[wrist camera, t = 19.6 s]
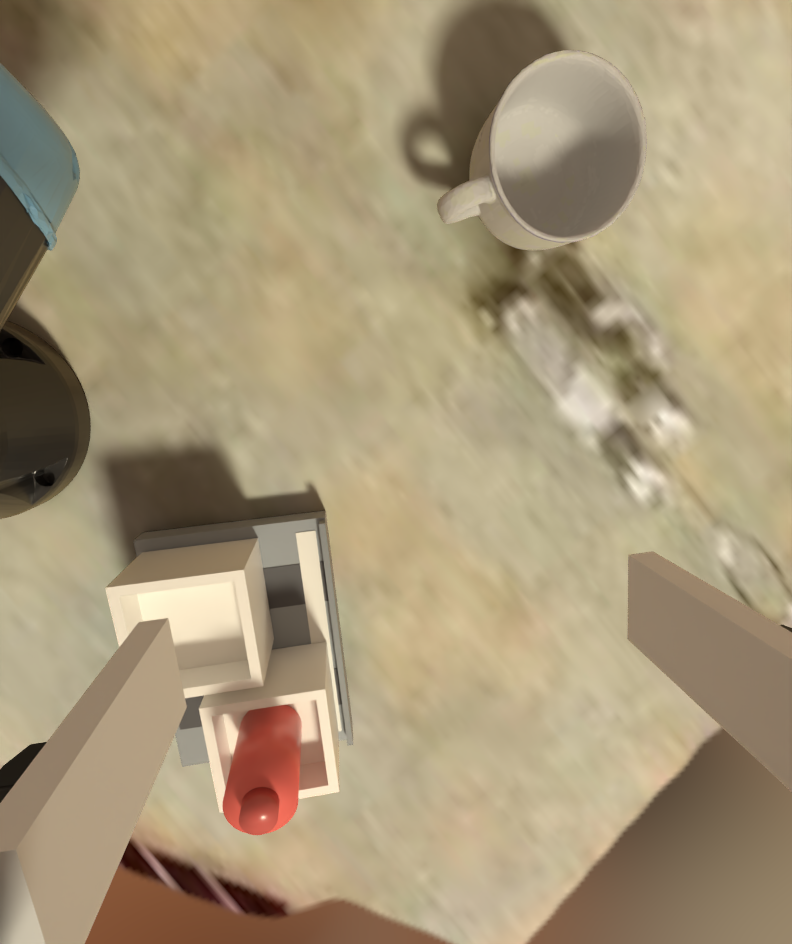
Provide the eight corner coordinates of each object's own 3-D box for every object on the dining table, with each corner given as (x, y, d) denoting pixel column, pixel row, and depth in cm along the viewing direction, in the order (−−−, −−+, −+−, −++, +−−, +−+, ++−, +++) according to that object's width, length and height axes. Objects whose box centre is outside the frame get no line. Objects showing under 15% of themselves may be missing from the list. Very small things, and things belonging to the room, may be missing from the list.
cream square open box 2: (236, 748, 44) (219, 812, 38) (219, 657, 42) (198, 708, 36) (338, 731, 45) (339, 791, 39) (326, 641, 43) (325, 689, 37)
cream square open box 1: (163, 654, 41) (133, 706, 35) (142, 552, 39) (105, 587, 33) (273, 638, 42) (263, 686, 36) (258, 537, 40) (243, 569, 34)
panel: (198, 795, 47) (189, 823, 44) (142, 532, 41) (128, 545, 38) (357, 767, 48) (359, 793, 45) (325, 510, 43) (324, 520, 40)
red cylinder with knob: (231, 712, 39) (208, 799, 31) (292, 694, 39) (285, 775, 31) (249, 763, 40) (231, 860, 32) (309, 745, 40) (306, 836, 32)
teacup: (580, 100, 38) (642, 33, 31) (598, 249, 41) (659, 221, 33) (405, 135, 38) (423, 75, 30) (434, 284, 40) (457, 265, 32)
